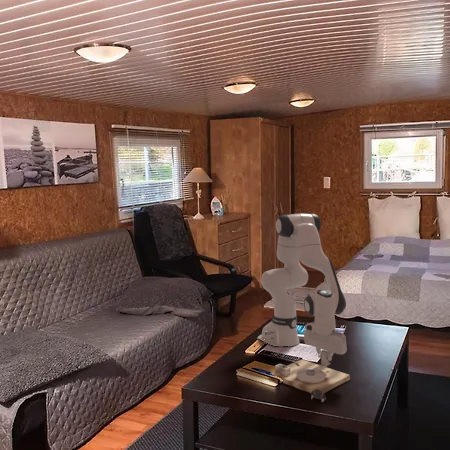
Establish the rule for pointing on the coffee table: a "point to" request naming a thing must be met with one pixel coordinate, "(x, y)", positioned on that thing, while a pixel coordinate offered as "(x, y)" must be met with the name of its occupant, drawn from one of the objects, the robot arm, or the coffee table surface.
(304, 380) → the dial
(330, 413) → the coffee table surface
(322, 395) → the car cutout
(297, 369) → the stand board
